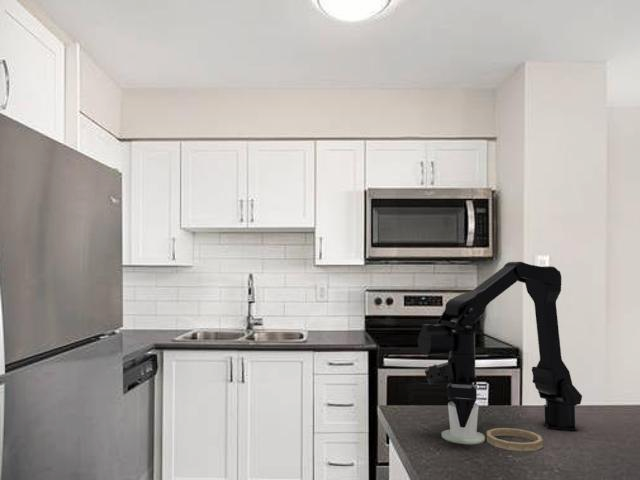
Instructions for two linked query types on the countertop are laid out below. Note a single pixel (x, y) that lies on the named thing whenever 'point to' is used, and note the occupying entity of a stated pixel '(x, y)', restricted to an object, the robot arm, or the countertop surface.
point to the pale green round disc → (450, 438)
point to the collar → (514, 445)
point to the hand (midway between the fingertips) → (463, 421)
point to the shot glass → (470, 427)
